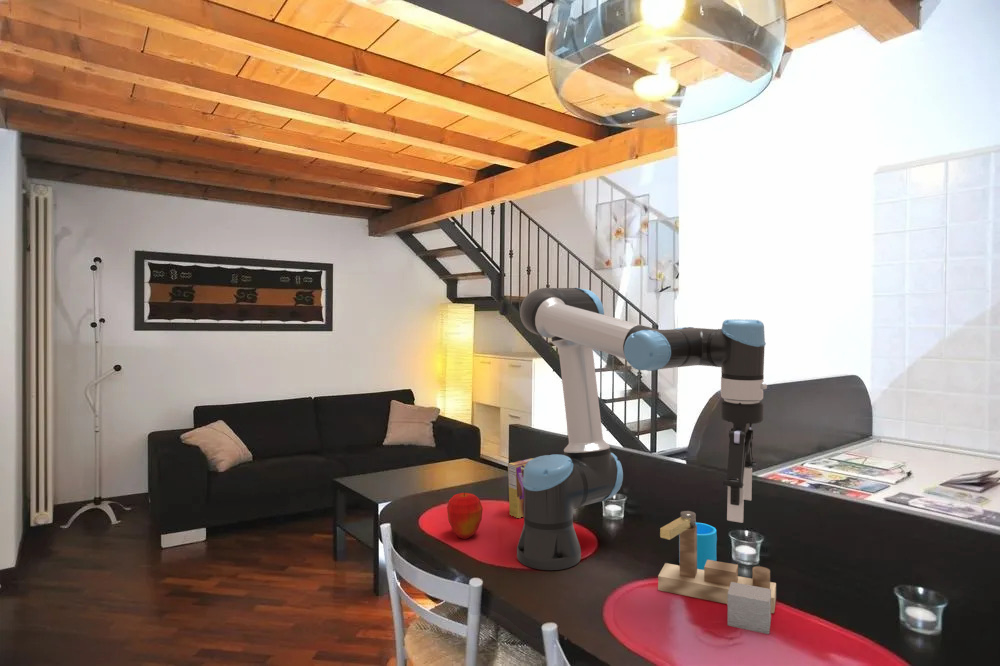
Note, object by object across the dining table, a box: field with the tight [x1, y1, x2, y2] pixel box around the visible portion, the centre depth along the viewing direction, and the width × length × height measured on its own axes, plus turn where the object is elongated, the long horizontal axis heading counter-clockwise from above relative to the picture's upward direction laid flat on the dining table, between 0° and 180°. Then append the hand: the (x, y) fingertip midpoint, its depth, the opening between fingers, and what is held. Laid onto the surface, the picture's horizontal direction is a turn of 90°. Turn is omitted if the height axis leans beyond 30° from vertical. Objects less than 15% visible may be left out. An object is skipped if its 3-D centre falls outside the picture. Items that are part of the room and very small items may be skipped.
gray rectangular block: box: [727, 582, 772, 635], centre depth 110 cm, size 7×6×6 cm
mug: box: [678, 522, 718, 570], centre depth 138 cm, size 12×8×8 cm
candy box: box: [507, 458, 533, 519], centre depth 171 cm, size 9×4×15 cm, turn 127°
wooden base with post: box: [657, 525, 777, 614], centre depth 122 cm, size 22×7×13 cm, turn 62°
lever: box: [659, 510, 697, 541], centre depth 121 cm, size 12×3×2 cm, turn 137°
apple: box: [446, 490, 484, 540], centre depth 155 cm, size 9×9×12 cm
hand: (739, 509), depth 115 cm, fingers open, 13 cm apart
